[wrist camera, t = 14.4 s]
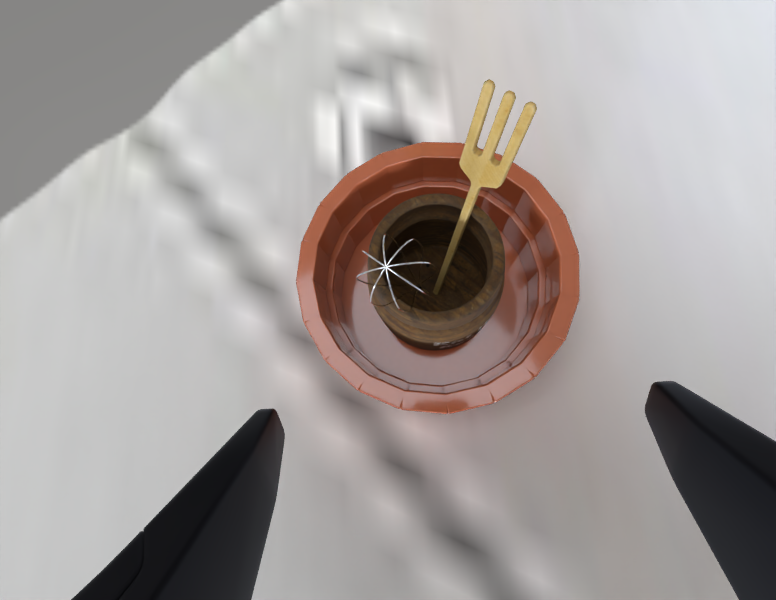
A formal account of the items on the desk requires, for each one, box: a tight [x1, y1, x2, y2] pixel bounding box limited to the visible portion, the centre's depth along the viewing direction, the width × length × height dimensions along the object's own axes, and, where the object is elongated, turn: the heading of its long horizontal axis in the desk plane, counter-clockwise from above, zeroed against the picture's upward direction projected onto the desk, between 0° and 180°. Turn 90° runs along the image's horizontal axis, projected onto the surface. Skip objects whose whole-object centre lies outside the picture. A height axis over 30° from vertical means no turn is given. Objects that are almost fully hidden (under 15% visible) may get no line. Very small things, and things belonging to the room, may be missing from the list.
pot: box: [296, 142, 579, 414], centre depth 20 cm, size 12×12×5 cm
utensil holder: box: [356, 80, 537, 351], centre depth 16 cm, size 6×6×12 cm
